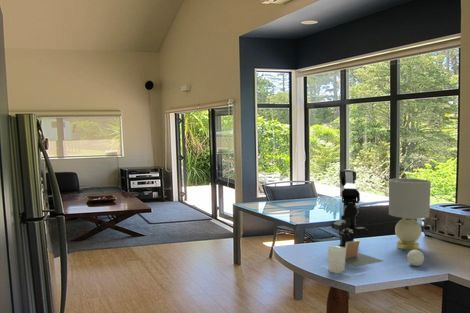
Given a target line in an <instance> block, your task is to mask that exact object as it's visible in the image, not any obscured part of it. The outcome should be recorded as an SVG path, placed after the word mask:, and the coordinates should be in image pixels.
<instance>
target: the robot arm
mask: <svg viewBox="0 0 470 313" xmlns="http://www.w3.org/2000/svg"><path fill="white" fill-rule="evenodd" d="M339 181H340V184H341V186H342V188H343V189H342V190H341V203H343V205H342V206H343V208H342V209H343V214H342V215H341V216H340V219H337V221H335V222H332V224H331V229H333V230H335V231H338V236H340V241H339V242H340V243H339V244H338V246H339V247H344V248H345V245H346V242H348V241H354V240H355V238H356V237H357V236H364V235H368V233H369V232H368V228H366V227H364V226H358V224H357V223H356V221H357V220H356V219H358V215H357V214H358V208H357V204H359V202H360V201H361V198H360V197H361V196H360V195H361V194H360V192H359V190H358V188H357V185H355V183H356V181H357V172H356V171H354V169H343V170H341V171H339Z"/></svg>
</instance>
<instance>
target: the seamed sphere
mask: <svg viewBox="0 0 470 313" xmlns="http://www.w3.org/2000/svg"><path fill="white" fill-rule="evenodd" d="M406 258H407V259H406V260H407V261H408V263H409V264H410V265H411V266H414V267H419V266H421V265H422V264H423V263H424V262H425V256H424V254H423V252H422V251H420V250H419V249H417V250H409V251H408V253H407V255H406Z"/></svg>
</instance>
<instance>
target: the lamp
mask: <svg viewBox="0 0 470 313" xmlns="http://www.w3.org/2000/svg"><path fill="white" fill-rule="evenodd" d="M388 183H389V185H388V186H389V187H388V190H389V192H388V194H389V195H388V215H390V216H392V217H395V218H396V217H397V218H402V219H400V220H398V222H396V225H395V227H394V231H395V235H396V237H397V238H398V239H399V240H397V241H396V247H397V249H401V250H406V251H411V250H419V248H420V243H419V242H418V240H419V239H420V237H421V236H422V227H421V225H420V223H419V222H418V221H417V220H416V219H418V220H419V219H421V220H422V219H427V218H429V217H430V207H431V188H432V187H431V185H432V184H431V181H430V180H428V179H423V178H422V179H419V178H409V177H408V178H402V177H401V178H400V177H399V178H397V177H396V178H390V179H389V182H388Z"/></svg>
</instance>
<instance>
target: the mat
mask: <svg viewBox="0 0 470 313" xmlns="http://www.w3.org/2000/svg"><path fill="white" fill-rule="evenodd" d="M382 262H384V260H382V259H380V258H376V257H373V256H370V255H367V254H363V253H361V252H358V253H357V256H354V257H348V258H345V264H347V265H350V266H353V267H361V266H366V265H371V264H377V263H382Z"/></svg>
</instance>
